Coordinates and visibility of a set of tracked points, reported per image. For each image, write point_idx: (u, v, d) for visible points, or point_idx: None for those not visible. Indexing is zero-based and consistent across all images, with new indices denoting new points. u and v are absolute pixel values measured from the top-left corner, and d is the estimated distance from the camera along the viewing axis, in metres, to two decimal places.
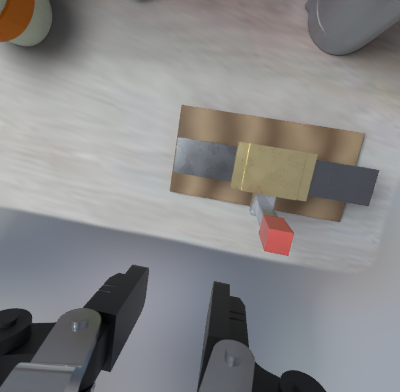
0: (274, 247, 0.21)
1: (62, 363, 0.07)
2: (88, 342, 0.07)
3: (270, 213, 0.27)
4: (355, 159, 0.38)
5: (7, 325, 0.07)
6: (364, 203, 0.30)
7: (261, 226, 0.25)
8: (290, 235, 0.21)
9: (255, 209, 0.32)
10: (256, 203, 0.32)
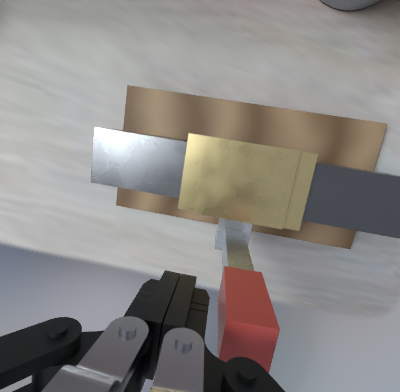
0: None
1: (105, 372, 0.06)
2: (132, 354, 0.07)
3: (240, 256, 0.16)
4: (373, 161, 0.27)
5: (59, 335, 0.07)
6: (395, 234, 0.18)
7: (220, 289, 0.13)
8: (273, 334, 0.10)
9: (221, 240, 0.20)
10: (223, 231, 0.20)
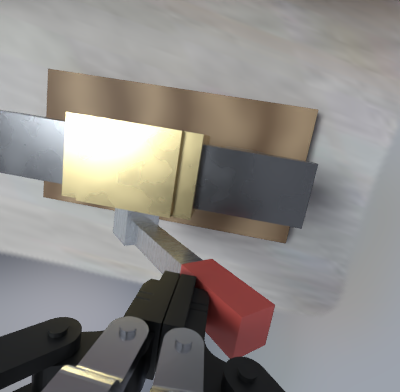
0: (247, 344, 0.11)
1: (105, 372, 0.06)
2: (132, 354, 0.07)
3: (177, 248, 0.15)
4: (305, 150, 0.25)
5: (59, 335, 0.07)
6: (294, 223, 0.16)
7: None
8: (270, 311, 0.11)
9: (131, 235, 0.18)
10: (131, 225, 0.18)
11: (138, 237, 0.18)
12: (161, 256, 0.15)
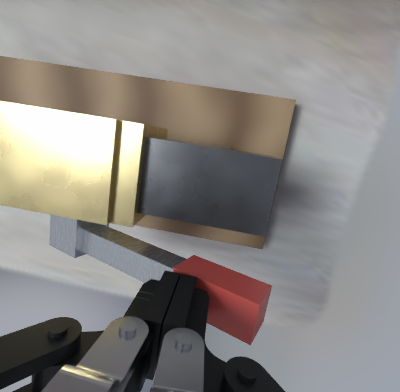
0: (257, 326, 0.12)
1: (105, 372, 0.06)
2: (132, 354, 0.07)
3: (153, 251, 0.15)
4: (282, 145, 0.22)
5: (59, 335, 0.07)
6: (256, 231, 0.14)
7: None
8: (269, 291, 0.12)
9: (81, 244, 0.16)
10: (81, 232, 0.16)
11: (94, 245, 0.16)
12: (137, 262, 0.14)
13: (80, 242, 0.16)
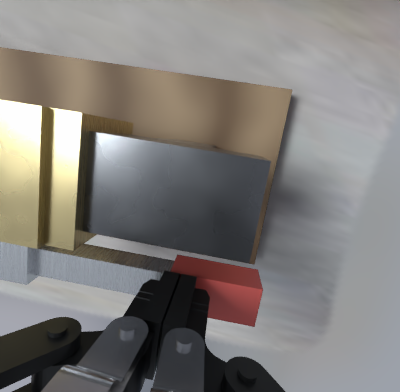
0: None
1: (105, 372, 0.06)
2: (132, 354, 0.07)
3: (133, 258, 0.13)
4: (276, 143, 0.19)
5: (59, 335, 0.07)
6: (238, 256, 0.10)
7: None
8: (257, 275, 0.14)
9: (34, 266, 0.13)
10: (33, 252, 0.13)
11: (54, 265, 0.13)
12: (119, 274, 0.13)
13: (32, 264, 0.13)
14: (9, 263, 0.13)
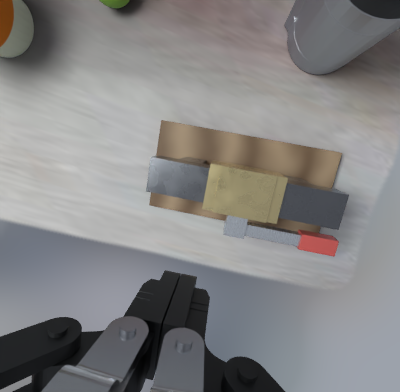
0: None
1: (105, 372, 0.06)
2: (132, 354, 0.07)
3: (282, 229, 0.33)
4: (332, 178, 0.38)
5: (59, 335, 0.07)
6: (334, 227, 0.30)
7: (306, 243, 0.32)
8: (332, 238, 0.33)
9: (245, 231, 0.32)
10: (246, 226, 0.32)
11: (253, 231, 0.32)
12: (280, 235, 0.32)
13: (245, 230, 0.32)
14: (237, 230, 0.32)
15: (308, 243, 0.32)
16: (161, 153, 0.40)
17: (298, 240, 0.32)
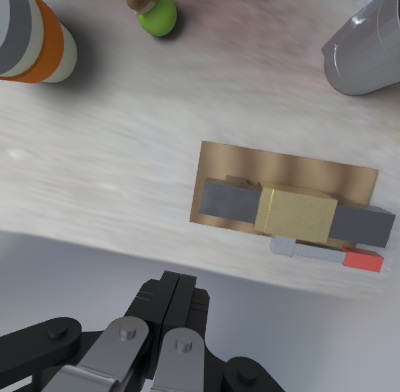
0: None
1: (105, 372, 0.06)
2: (132, 354, 0.07)
3: (328, 247, 0.34)
4: (369, 194, 0.40)
5: (59, 335, 0.07)
6: (381, 245, 0.31)
7: (352, 260, 0.33)
8: (375, 254, 0.34)
9: (292, 250, 0.34)
10: (293, 244, 0.34)
11: (300, 249, 0.34)
12: (326, 253, 0.34)
13: (292, 249, 0.34)
14: (286, 248, 0.33)
15: (354, 260, 0.33)
16: (201, 172, 0.42)
17: (344, 257, 0.33)
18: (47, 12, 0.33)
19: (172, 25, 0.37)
